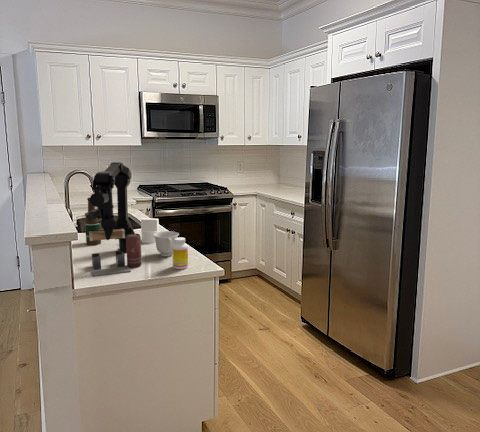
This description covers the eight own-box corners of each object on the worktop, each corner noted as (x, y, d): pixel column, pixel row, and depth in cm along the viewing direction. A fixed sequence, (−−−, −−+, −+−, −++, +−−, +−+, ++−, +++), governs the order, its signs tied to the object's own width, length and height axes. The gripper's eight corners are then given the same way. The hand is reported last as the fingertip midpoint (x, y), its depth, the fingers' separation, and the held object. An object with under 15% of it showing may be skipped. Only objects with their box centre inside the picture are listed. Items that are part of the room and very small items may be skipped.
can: (142, 263, 198) (141, 232, 195) (140, 268, 192) (138, 236, 189) (129, 263, 198) (127, 232, 195) (125, 267, 191) (124, 236, 188)
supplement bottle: (189, 269, 191) (188, 240, 188) (173, 270, 189) (173, 241, 186) (186, 264, 197) (186, 236, 194) (171, 265, 195) (170, 237, 193)
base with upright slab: (161, 239, 238) (160, 217, 236) (156, 243, 229) (155, 221, 227) (144, 238, 239) (143, 216, 236) (139, 243, 230) (138, 220, 228)
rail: (89, 239, 187) (89, 231, 187) (123, 236, 193) (123, 228, 192) (90, 241, 184) (89, 233, 184) (125, 238, 190) (124, 230, 189)
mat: (91, 271, 186) (91, 270, 186) (128, 267, 192) (128, 266, 192) (93, 276, 181) (93, 275, 181) (130, 271, 187) (130, 270, 186)
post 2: (116, 263, 198) (115, 251, 197) (122, 262, 199) (122, 250, 198) (118, 267, 192) (117, 255, 191) (125, 266, 194) (124, 254, 192)
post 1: (92, 265, 194) (91, 253, 193) (99, 265, 195) (98, 253, 194) (93, 270, 188) (93, 257, 187) (101, 269, 190) (100, 256, 188)
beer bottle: (89, 246, 223) (86, 199, 218) (83, 243, 229) (80, 197, 224) (104, 243, 228) (101, 197, 223) (97, 240, 234) (95, 195, 229)
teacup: (157, 261, 201) (157, 240, 199) (151, 252, 214) (150, 232, 212) (183, 258, 205) (183, 237, 203) (175, 249, 219) (175, 230, 217)
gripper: (83, 200, 191) (85, 235, 194) (86, 207, 174) (89, 246, 177) (110, 199, 195) (112, 233, 198) (116, 206, 178) (117, 243, 181)
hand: (107, 239), depth 189 cm, fingers closed on rail, 3 cm apart
